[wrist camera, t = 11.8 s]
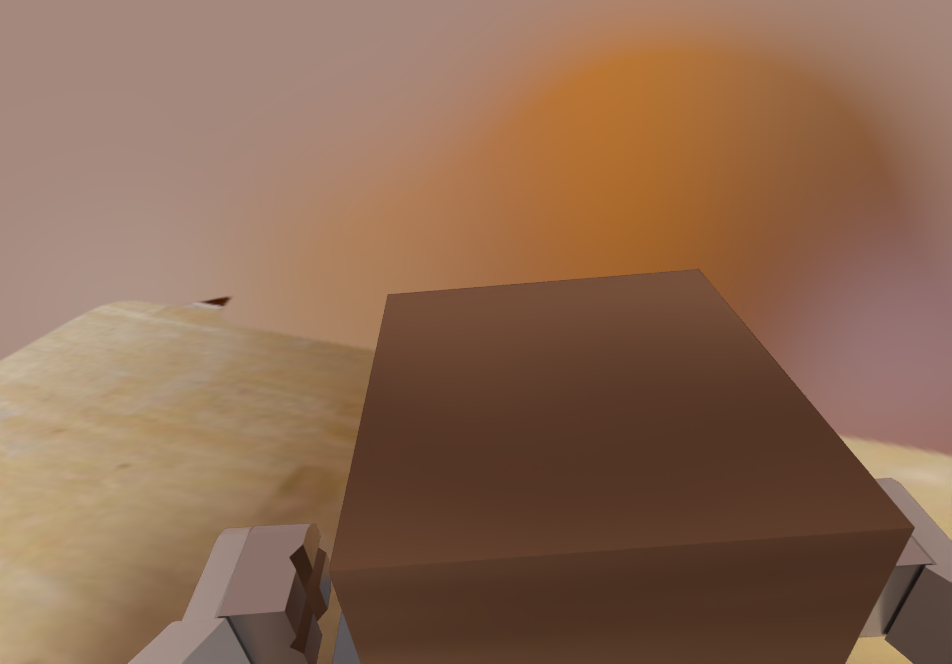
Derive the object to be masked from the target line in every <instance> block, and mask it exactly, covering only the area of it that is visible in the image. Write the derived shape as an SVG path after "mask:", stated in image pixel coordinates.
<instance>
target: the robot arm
mask: <svg viewBox="0 0 952 664" xmlns="http://www.w3.org/2000/svg"><path fill="white" fill-rule="evenodd" d="M875 480H876V481H877V483H878V484H879V485H880V486H881V487H882V489H883V490H884V491H885V492H886V493H887V495H888V496H889V497H890V498H891V499H892V501H893V502H894V503H895V504H896V505H897V507H898V508H899V509H900V510H901V511H902V513H903V514H904V515H905V516H906V517H907V519H908V520H909V521H910V522H911V523H912V524H913V526H914V527H915V529H914V531H913V533H912V535H911V537H910V539H909V540H908V542H907V544H906V546H905V548H904V550H903V552H902V554H901V556H900V558H899V560H898V562H897V564H896V566H895V568H894V570H893V572H892V573H891V575H890V577H889V579H888V581H887V583H886V585H885V587H884V589H883V591H882V593H881V595H880V597H879V599H878V601H877V603H876V604H875V606H874V608H873V610H872V612H871V614H870V616H869V618H868V620H867V622H866V624H865V626H864V628H863V630H862V632H861V634H860V636H859V637H858V638H861V637H884V636H886V637H885V640H886V641H887V642H888V643H889V644H891V645H892V646H893V647H894V648H895V649H897V650H898V651H899V652H900V653H901V654H903V655H904V656H905V657H906V658H908V659H909V660H910V661H911V662H912V663H914V664H952V541H951V540H950V539H949V537H948V536H947V535H946V534H945V533H944V532H943V531H942V530H941V528H940V527H939V526H938V525H937V524H936V523H935V522H934V521H933V519H932V518H931V517H930V516H929V515H928V514H927V513H926V512H925V510H924V509H923V508H922V507H921V506H920V505H919V504H918V503H917V501H916V500H915V499H914V498H913V497H912V496H911V495H910V494H909V492H908V491H907V490H906V489H905V488H904V487H903V486H902V485H901V484H900V483H899V482H897V481H896V480H894V479H892V478H882V479H875ZM320 538H321V536H320V533H319V531H318V528H317V526H316V524H293V525H273V526H254V527H239V528H225V529H224V531H223V532H222V533H221V534H220V535H219V536H218V538H217V540H216V542H215V544H214V547H213V549H212V551H211V554H210V556H209V558H208V561H207V563H206V565H205V568H204V570H203V572H202V575H201V577H200V579H199V582H198V584H197V586H196V589H195V591H194V593H193V595H192V598H191V600H190V602H189V605H188V607H187V609H186V612H185V614H184V616H183V619H182V621H173V622H172V623H170V624H169V625H168V626H167V627H166V628H165V629H164V630H163V631H162V632H161V633H160V634H159V635H158V636H156V637H155V638H154V639H153V640H152V641H151V642H150V643H149V644H148V645H147V646H146V647H145V648H144V649H143V650H141V651H140V652H139V653H138V654H137V655H136V656H135V657H134V658H133V659H132V660H131V661H130V662H129V663H127V664H316V662H317V658H318V653H319V648H320V643H321V638H322V634H321V631H320V629H319V626H318V623H317V621H318V620H319V618H320V617H321V616H322V615H323V614H324V613H325V612H326V610H327V609H328V604H329V598H330V593H331V577H330V574H329V567H330V562H329V559H328V556H327V553H326V552H324V551H323V550H321V549H320V548H318V546H319V542H320Z"/></svg>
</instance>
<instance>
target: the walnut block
mask: <svg viewBox="0 0 952 664" xmlns="http://www.w3.org/2000/svg"><path fill="white" fill-rule="evenodd" d="M914 529H915V527H914V526H913V524H912V523H911V522H910V521H909V520H908V519H907V517H906V516H905V515H904V514H903V513H902V511H901V510H900V509H899V508H898V507H897V505H896V504H895V503H894V502H893V501H892V499H891V498H890V497H889V496H888V495H887V493H886V492H885V491H884V490H883V489H882V487H881V486H880V485H879V484H878V483H877V481H876V480H875V479H874V478H873V477H872V475H871V474H870V473H869V472H868V471H867V469H866V468H865V467H864V466H863V465H862V463H861V462H860V461H859V460H858V459H857V457H856V456H855V455H854V454H853V453H852V451H851V450H850V449H849V448H848V447H847V446H846V444H845V443H844V442H843V441H842V440H841V438H840V437H839V436H838V435H837V434H836V432H835V431H834V430H833V429H832V428H831V427H830V425H829V424H828V423H827V422H826V420H825V419H824V418H823V417H822V416H821V414H820V413H819V412H818V411H817V410H816V408H815V407H814V406H813V405H812V404H811V402H810V401H809V400H808V399H807V398H806V397H805V395H804V394H803V393H802V392H801V390H800V389H799V388H798V387H797V386H796V384H795V383H794V382H793V381H792V380H791V379H790V377H789V376H788V375H787V374H786V373H785V371H784V370H783V369H782V368H781V367H780V366H779V364H778V363H777V362H776V361H775V359H774V358H773V357H772V356H771V355H770V354H769V352H768V351H767V350H766V349H765V348H764V346H763V345H762V344H761V343H760V341H759V340H758V339H757V338H756V337H755V336H754V334H753V333H752V332H751V331H750V329H749V328H748V327H747V326H746V325H745V323H744V322H743V321H742V320H741V319H740V318H739V316H738V315H737V314H736V313H735V312H734V310H733V309H732V308H731V307H730V306H729V304H728V303H727V302H726V301H725V300H724V298H723V297H722V296H721V295H720V294H719V292H718V291H717V290H716V289H715V288H714V286H713V285H712V284H711V283H710V282H709V280H708V279H707V278H706V277H705V276H704V274H703V273H702V272H701V271H700V270H699V269H696V270H684V271H671V272H660V273H647V274H634V275H622V276H611V277H598V278H585V279H573V280H561V281H548V282H536V283H524V284H511V285H499V286H488V287H475V288H463V289H451V290H439V291H426V292H414V293H401V294H388V296H387V301H386V305H385V310H384V315H383V319H382V324H381V329H380V334H379V338H378V343H377V347H376V352H375V357H374V361H373V366H372V371H371V375H370V380H369V385H368V389H367V394H366V399H365V403H364V408H363V413H362V417H361V422H360V427H359V431H358V436H357V441H356V445H355V450H354V455H353V459H352V464H351V469H350V473H349V478H348V483H347V487H346V492H345V497H344V501H343V506H342V511H341V515H340V520H339V525H338V529H337V534H336V539H335V543H334V548H333V553H332V557H331V562H330V567H329V574H330V577H331V580H332V583H333V586H334V588H335V591H336V594H337V597H338V600H339V603H340V606H341V609H342V611H343V614H344V617H345V620H346V623H347V626H348V629H349V632H350V634H351V637H352V640H353V643H354V646H355V649H356V652H357V655H358V658H359V660H360V663H361V664H845V663H846V661H847V659H848V657H849V655H850V653H851V651H852V649H853V647H854V645H855V643H856V641H857V639H858V637H859V636H860V634H861V632H862V630H863V628H864V626H865V624H866V622H867V620H868V618H869V616H870V614H871V612H872V610H873V608H874V606H875V604H876V603H877V601H878V599H879V597H880V595H881V593H882V591H883V589H884V587H885V585H886V583H887V581H888V579H889V577H890V575H891V573H892V572H893V570H894V568H895V566H896V564H897V562H898V560H899V558H900V556H901V554H902V552H903V550H904V548H905V546H906V544H907V542H908V540H909V539H910V537H911V535H912V533H913V531H914Z"/></svg>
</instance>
